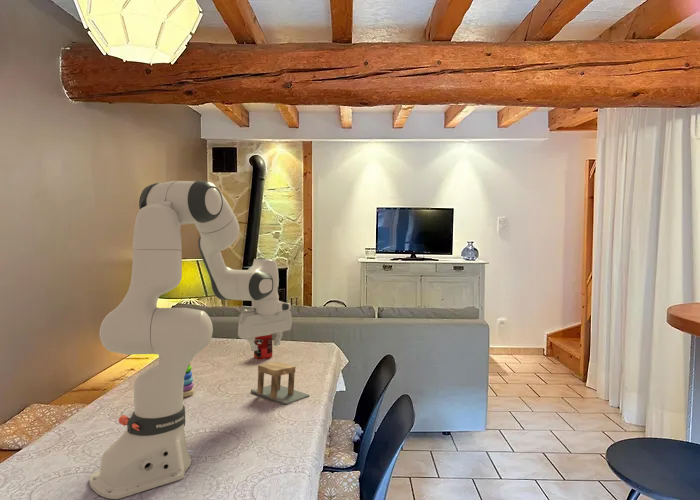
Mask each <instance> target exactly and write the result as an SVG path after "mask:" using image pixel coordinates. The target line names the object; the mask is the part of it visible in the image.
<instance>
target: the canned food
mask: <svg viewBox="0 0 700 500" xmlns="http://www.w3.org/2000/svg"><path fill="white" fill-rule="evenodd" d="M254 343H255V345H258V350H256V351H253V357H254V359H255V360H269V359H271V358H272V357H273V334H269V335H264V336H259V337H255V341H254Z"/></svg>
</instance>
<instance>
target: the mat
mask: <svg viewBox="0 0 700 500" xmlns="http://www.w3.org/2000/svg"><path fill="white" fill-rule="evenodd" d="M250 393H251V394H254V395H256V396H260V397H262V398H265V399H268V400H270V401H273V402H275V403H278V404H281V405H284V406H287V405H289V404H292V403H294V402H295V403H296V402H298V401H300V400H303V399H306V398H309V397H310V396H311V395H310V394H307V393H304V392H302V391H298V390H295V389H294V394H292V395H289V394H288V386H284V385H281V384H280V390H277V397H276V399H272V398H270V396H271V384H269V385H266V386H263V394H258V393H257V388H256V389H255V388H251V389H250Z"/></svg>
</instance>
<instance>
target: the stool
mask: <svg viewBox="0 0 700 500" xmlns="http://www.w3.org/2000/svg"><path fill="white" fill-rule="evenodd" d="M296 369H297V368H296V366H295V365H291V364H288V363H283V362H280V361H274V362H270V363H264V364H258V365H257V387H256V389H257V393H258V394H263V387H264V383H265V381H264V380H265V374H266V375H268V376H271V381H270V383H271V384H270V385H271V396H270V398H272V399H276V397H277V390H280V385H281V379H282V376H284V375H288V379H287V380H288V383H287V384H288V385H287V388H288V394H289V395H292V394H294V390H295V373H296Z"/></svg>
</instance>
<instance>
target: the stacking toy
mask: <svg viewBox="0 0 700 500" xmlns="http://www.w3.org/2000/svg"><path fill="white" fill-rule="evenodd" d="M191 364H192V361H191V362H190V364H189V366H188V367H187V370H186V373H185V376H184V385H183V398H187V397H190V396H192V395H193V394H195V389H194V377H193V372H192V368H193V367H192V366H191Z"/></svg>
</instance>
